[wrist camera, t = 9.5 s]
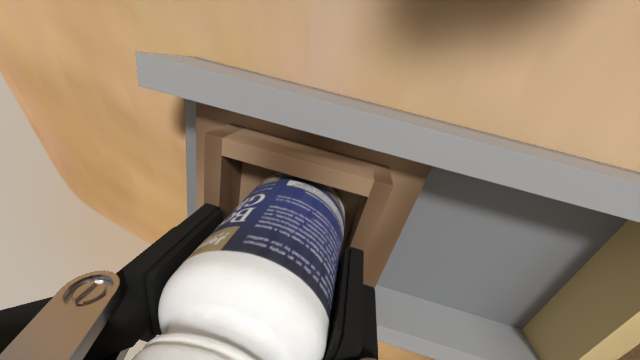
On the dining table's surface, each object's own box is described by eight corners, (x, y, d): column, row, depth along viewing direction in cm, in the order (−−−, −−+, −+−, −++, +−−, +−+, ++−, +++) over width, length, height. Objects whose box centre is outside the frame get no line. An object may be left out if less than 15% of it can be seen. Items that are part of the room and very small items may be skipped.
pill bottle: (275, 148, 12) (48, 341, 3) (365, 201, 13) (363, 496, 4) (241, 221, 15) (52, 444, 6) (316, 263, 15) (246, 535, 6)
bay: (671, 181, 12) (801, 226, 9) (521, 333, 18) (561, 399, 14) (195, 56, 14) (135, 51, 10) (196, 233, 19) (157, 270, 16)
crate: (425, 156, 13) (446, 186, 9) (369, 279, 17) (370, 331, 13) (213, 99, 13) (162, 107, 10) (209, 230, 17) (172, 267, 14)
